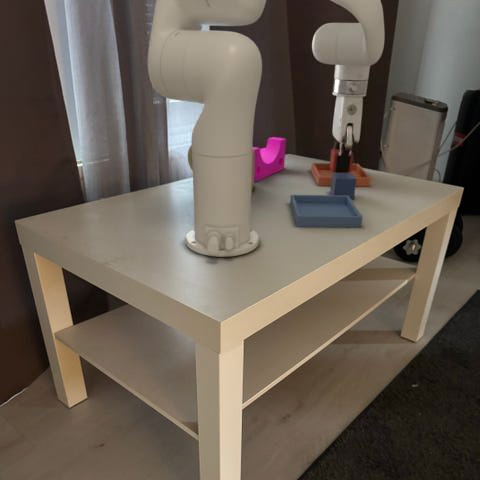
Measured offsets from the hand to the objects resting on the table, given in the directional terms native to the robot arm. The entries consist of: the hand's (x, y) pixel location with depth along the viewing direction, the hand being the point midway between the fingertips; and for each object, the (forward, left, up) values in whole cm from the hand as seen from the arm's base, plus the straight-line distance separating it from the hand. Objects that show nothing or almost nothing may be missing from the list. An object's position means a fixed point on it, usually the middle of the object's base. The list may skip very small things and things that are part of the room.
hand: (339, 168), depth 119 cm
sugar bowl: (-11, +28, -2) cm, 30 cm away
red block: (0, 0, 0) cm, 0 cm away
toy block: (+4, +20, -3) cm, 20 cm away
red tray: (0, 0, -2) cm, 2 cm away
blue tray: (-27, +8, -2) cm, 28 cm away
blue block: (-15, +2, -2) cm, 15 cm away
